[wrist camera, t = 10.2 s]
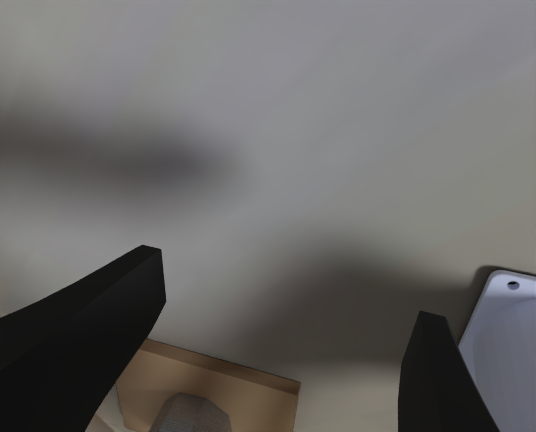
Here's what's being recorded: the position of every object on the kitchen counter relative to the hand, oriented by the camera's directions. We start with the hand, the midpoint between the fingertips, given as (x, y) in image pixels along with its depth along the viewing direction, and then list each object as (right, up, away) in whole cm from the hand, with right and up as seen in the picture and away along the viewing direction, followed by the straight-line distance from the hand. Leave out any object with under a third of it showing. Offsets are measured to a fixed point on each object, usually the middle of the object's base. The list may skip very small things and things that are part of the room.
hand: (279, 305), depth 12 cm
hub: (-6, -13, +21) cm, 25 cm away
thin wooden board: (-5, -13, +22) cm, 26 cm away
